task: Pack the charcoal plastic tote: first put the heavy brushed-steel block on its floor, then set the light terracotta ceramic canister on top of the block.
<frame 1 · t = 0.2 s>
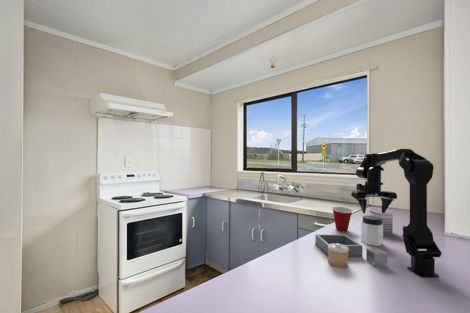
hand: (373, 213, 111), 14 cm above the table, tool pointing down, fingers open, 9 cm apart
steel block: (376, 264, 90), on the table
plastic cup: (341, 230, 131), on the table
tote: (337, 250, 103), on the table
can: (380, 232, 129), on the table
ceramic canister: (337, 263, 89), on the table
jar: (371, 243, 112), on the table
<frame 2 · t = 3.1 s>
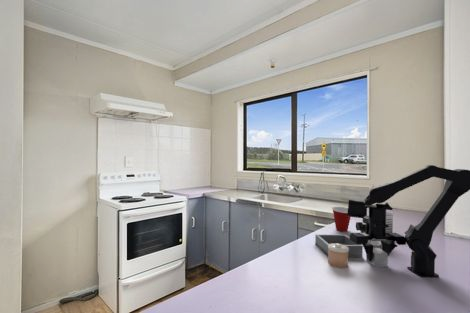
hand: (376, 261, 90), 1 cm above the table, tool pointing down, fingers closed on steel block, 5 cm apart
steel block: (376, 263, 90), on the table, touching gripper
everything else where it was.
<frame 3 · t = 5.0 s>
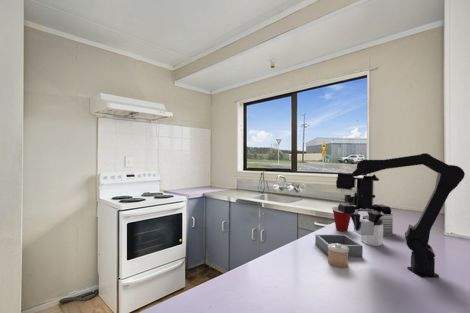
hand: (363, 230, 94), 11 cm above the table, tool pointing down, fingers closed on steel block, 5 cm apart
steel block: (363, 233, 94), point 10 cm above the table, touching gripper
everything else where it was.
when the fingers open (3 cm above the table, at t = 7.4 s): steel block drops 1 cm, resting on tote.
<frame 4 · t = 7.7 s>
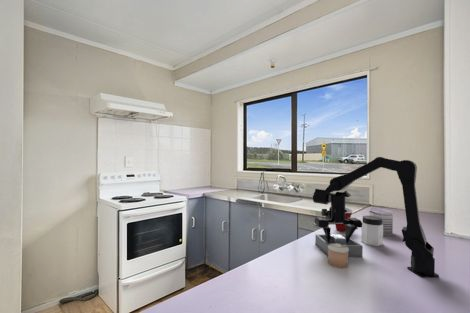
hand: (337, 242, 103), 3 cm above the table, tool pointing down, fingers open, 8 cm apart
steel block: (337, 247, 103), point 1 cm above the table, touching tote
everything else where it was.
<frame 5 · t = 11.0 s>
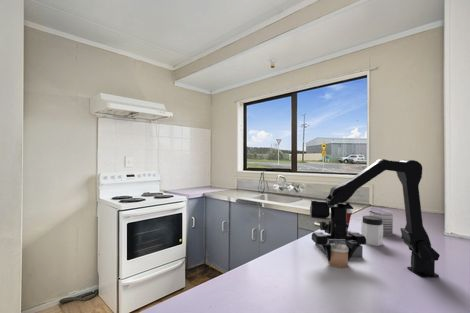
hand: (337, 260, 89), 1 cm above the table, tool pointing down, fingers closed on ceramic canister, 7 cm apart
ceramic canister: (337, 263, 89), on the table, touching gripper
everything else where it was.
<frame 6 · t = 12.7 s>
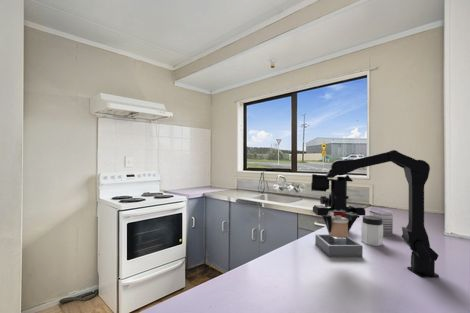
hand: (338, 232, 93), 11 cm above the table, tool pointing down, fingers closed on ceramic canister, 7 cm apart
ceramic canister: (338, 235, 92), point 10 cm above the table, touching gripper
everything else where it was.
when the fingers open (8 cm above the table, at t = 14.4 s): ceramic canister drops 1 cm, resting on steel block.
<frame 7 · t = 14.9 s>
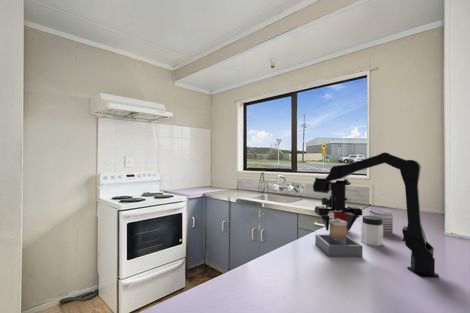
hand: (337, 230, 103), 8 cm above the table, tool pointing down, fingers open, 9 cm apart
steel block: (337, 247, 103), point 1 cm above the table, touching ceramic canister, tote
ceramic canister: (337, 236, 103), point 6 cm above the table, touching steel block
everything else where it was.
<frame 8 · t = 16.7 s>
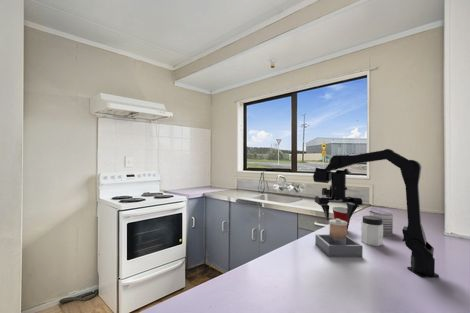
hand: (337, 220, 103), 13 cm above the table, tool pointing down, fingers open, 9 cm apart
nothing on the table moved.
at the end: steel block inside the target area on the tote (0.0 cm from its centre), point 1.0 cm above the tote's base; ceramic canister inside the target area on the tote (0.1 cm from its centre), point 6.0 cm above the tote's base; ceramic canister tilted 0° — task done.
